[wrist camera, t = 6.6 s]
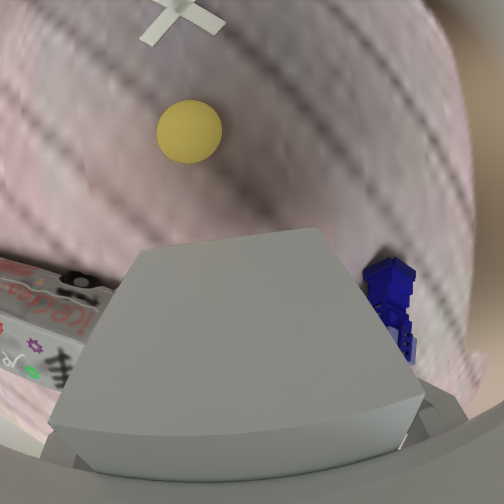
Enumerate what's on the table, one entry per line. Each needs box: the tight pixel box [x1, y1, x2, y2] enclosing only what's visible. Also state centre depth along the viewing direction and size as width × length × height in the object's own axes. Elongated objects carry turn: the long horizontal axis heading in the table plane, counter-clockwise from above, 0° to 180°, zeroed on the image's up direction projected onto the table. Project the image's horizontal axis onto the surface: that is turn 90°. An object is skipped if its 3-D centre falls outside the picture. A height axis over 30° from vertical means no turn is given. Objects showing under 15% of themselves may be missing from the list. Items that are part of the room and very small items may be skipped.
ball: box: [156, 100, 222, 164], centre depth 21 cm, size 5×5×5 cm
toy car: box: [0, 257, 118, 392], centre depth 25 cm, size 11×25×10 cm, turn 76°
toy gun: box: [363, 257, 417, 365], centre depth 30 cm, size 4×13×10 cm
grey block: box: [48, 227, 425, 483], centre depth 10 cm, size 7×7×9 cm
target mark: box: [139, 0, 226, 47], centre depth 18 cm, size 9×9×1 cm
